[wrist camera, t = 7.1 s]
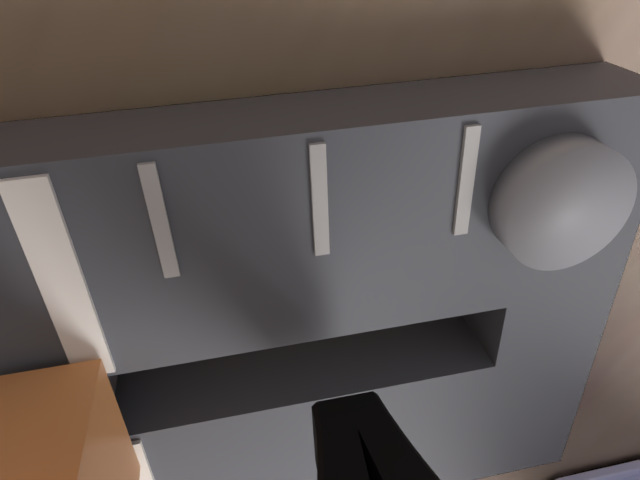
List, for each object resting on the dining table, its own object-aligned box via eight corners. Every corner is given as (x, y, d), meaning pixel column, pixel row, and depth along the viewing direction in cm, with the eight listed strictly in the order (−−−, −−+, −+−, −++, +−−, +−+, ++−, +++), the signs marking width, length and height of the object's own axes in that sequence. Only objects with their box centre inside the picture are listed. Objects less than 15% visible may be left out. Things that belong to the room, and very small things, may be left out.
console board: (605, 61, 13) (716, 102, 10) (521, 402, 19) (575, 483, 16) (-260, 148, 10) (-425, 237, 7) (-16, 511, 16) (-56, 628, 14)
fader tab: (114, 286, 13) (61, 553, 7) (147, 392, 15) (123, 661, 9) (8, 302, 12) (-127, 594, 7) (56, 408, 14) (-21, 697, 9)
